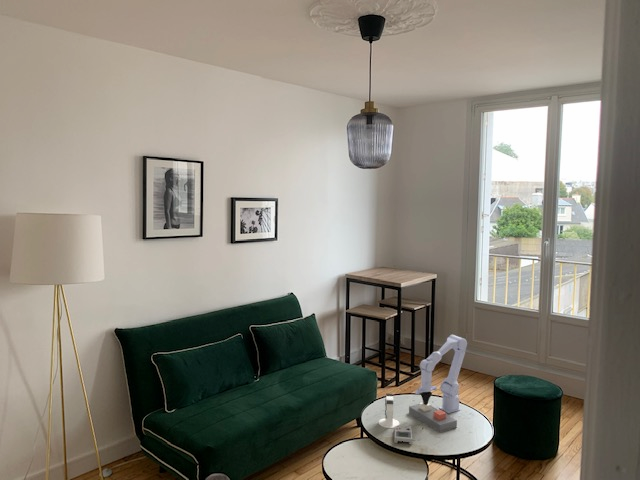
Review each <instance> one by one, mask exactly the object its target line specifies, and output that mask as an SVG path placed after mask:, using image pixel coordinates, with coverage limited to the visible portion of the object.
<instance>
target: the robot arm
mask: <svg viewBox="0 0 640 480" xmlns="http://www.w3.org/2000/svg"><path fill="white" fill-rule="evenodd" d="M467 346H468V341H467V340H466V338H465V337H464V338H463V337H461V336H457V335H455V334H450V335H449V336H448V337H446V341H445V343H443V344H442V346H441V347H440V348H439V349H438V350H437V351H432V353H431V354H430V355H429V356H428V357H427V358H426V359H422V360H421V361H420V363H419V369H420V372H421V374H420V375H421V376H420V377H421V378H420V386H419V388H417V389H415V390H414V394H415V395H419V394H420V396H421V399H422V402H423V404H425V405H427V404H428V403H429V401H430V399H431V396H432V394H433V392H432V391H437V389H438V387H437V386H436V385H432V375H433V374H432V372H433V371H434V370H435V367H436V365H437V364H438V363H439V362H440V361H442V358H443V355H445V354H447V352H449V351H450V350H451V349H453V350H454V355H453V359H452V361H451V366H450V367H449V371H448V374H447V377H446V378H444V379H443V380H442V383H440V387H439V390H440V391H441V394H442V403H441V404H442V406H439V407H438V408H439V410H442V411H443V412H445V413H446V414H451V413H454V412H455V413H456V412H458V411H461V409H460V396H459V392H460V391H459V388H460V385H459V383H458V377H459V374H460V371H461V367H462V364H463V362H464V358H465V354H466V350H467Z"/></svg>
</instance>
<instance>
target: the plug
mask: <svg viewBox="0 0 640 480" xmlns="http://www.w3.org/2000/svg"><path fill="white" fill-rule="evenodd" d="M418 404H419V409H421V410H423V411H424V412H426V411H430V410H431V406H432V404H431V403H429V402H428V404H427V405H425V404H423V401H422V402H419V403H418Z"/></svg>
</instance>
